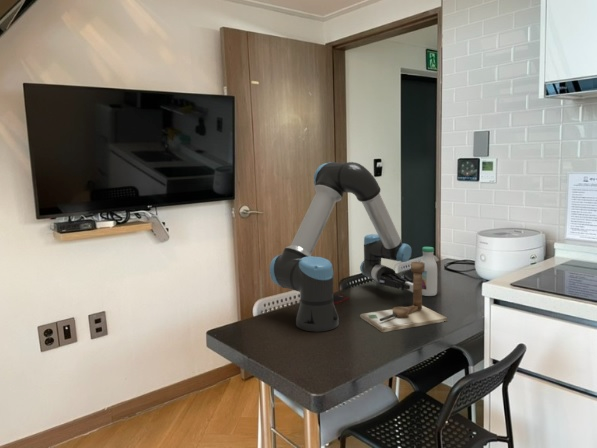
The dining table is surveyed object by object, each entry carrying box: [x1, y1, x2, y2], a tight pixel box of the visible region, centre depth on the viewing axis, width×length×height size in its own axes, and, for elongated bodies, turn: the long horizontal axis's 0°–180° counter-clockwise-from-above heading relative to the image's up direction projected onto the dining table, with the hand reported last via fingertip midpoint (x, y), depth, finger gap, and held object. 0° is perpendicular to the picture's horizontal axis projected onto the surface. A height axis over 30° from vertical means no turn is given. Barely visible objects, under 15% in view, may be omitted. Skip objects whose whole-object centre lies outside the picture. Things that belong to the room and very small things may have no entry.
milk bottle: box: [419, 246, 438, 297], centre depth 193 cm, size 8×8×20 cm
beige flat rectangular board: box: [359, 305, 448, 333], centre depth 165 cm, size 26×16×2 cm, turn 110°
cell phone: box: [333, 293, 350, 306], centre depth 188 cm, size 8×15×1 cm, turn 137°
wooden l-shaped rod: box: [380, 261, 425, 321], centre depth 164 cm, size 23×6×17 cm, turn 130°
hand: (416, 289), depth 172 cm, fingers closed
